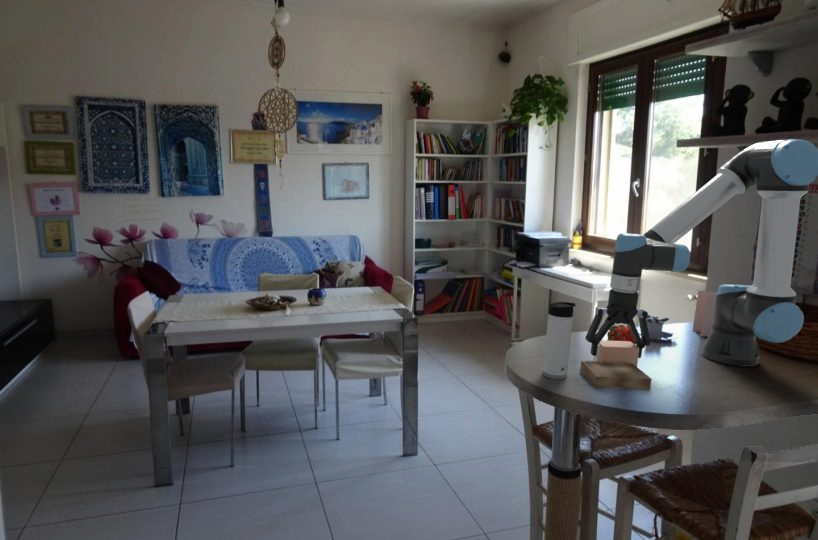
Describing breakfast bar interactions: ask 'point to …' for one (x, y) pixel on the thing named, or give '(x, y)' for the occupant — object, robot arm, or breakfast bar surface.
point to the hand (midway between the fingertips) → (614, 367)
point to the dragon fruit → (620, 334)
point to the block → (618, 352)
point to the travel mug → (558, 340)
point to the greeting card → (704, 312)
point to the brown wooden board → (615, 375)
